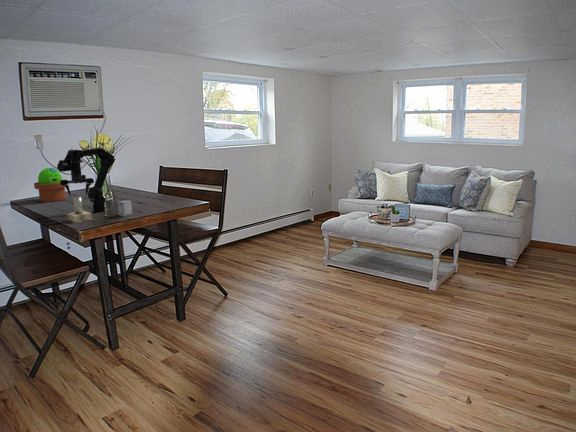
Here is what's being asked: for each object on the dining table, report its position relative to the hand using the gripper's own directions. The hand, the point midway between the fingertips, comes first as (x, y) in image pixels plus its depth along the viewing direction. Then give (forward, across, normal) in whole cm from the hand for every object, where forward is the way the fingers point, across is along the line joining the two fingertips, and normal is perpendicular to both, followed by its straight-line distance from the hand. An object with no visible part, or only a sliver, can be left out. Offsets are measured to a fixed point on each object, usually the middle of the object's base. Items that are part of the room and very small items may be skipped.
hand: (78, 195), depth 272 cm
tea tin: (+9, -2, -12) cm, 15 cm away
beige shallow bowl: (+13, -2, -12) cm, 18 cm away
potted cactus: (+12, -10, +74) cm, 76 cm away
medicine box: (+13, +24, -14) cm, 31 cm away
